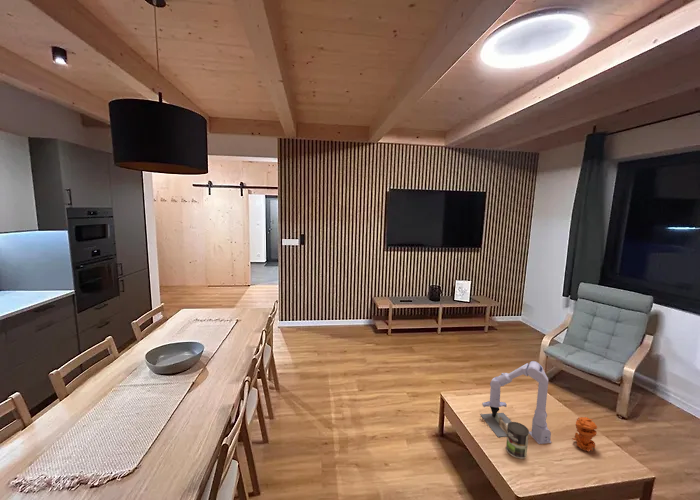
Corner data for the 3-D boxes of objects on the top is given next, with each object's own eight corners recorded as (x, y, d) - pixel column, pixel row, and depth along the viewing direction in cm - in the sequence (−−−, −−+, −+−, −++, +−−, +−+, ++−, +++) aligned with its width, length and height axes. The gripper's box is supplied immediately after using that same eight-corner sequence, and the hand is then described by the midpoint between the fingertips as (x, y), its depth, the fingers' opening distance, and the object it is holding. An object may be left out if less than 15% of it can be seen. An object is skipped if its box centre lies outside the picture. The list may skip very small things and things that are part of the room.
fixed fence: (510, 435, 180) (510, 427, 179) (507, 435, 180) (508, 427, 179) (500, 424, 189) (501, 416, 189) (498, 424, 189) (498, 416, 188)
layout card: (523, 435, 180) (523, 434, 180) (498, 437, 179) (498, 436, 179) (503, 413, 200) (503, 412, 200) (480, 415, 199) (480, 414, 199)
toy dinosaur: (586, 456, 165) (589, 426, 163) (567, 442, 175) (570, 413, 173) (601, 452, 168) (605, 422, 166) (582, 438, 178) (584, 409, 176)
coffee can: (517, 461, 162) (519, 436, 160) (501, 447, 171) (503, 424, 170) (531, 455, 165) (533, 432, 164) (515, 442, 175) (517, 419, 173)
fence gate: (500, 423, 190) (500, 417, 189) (498, 423, 190) (498, 417, 189) (493, 414, 198) (493, 409, 198) (491, 414, 198) (491, 409, 198)
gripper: (503, 393, 196) (501, 412, 198) (480, 393, 196) (479, 412, 198) (508, 399, 189) (507, 419, 191) (485, 399, 189) (484, 420, 191)
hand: (493, 416), depth 194 cm, fingers closed
